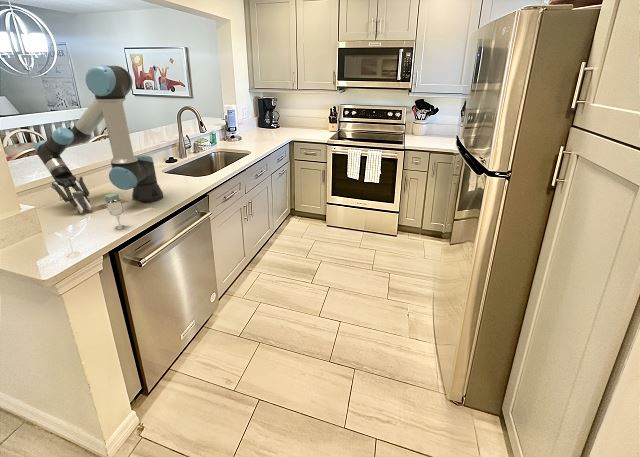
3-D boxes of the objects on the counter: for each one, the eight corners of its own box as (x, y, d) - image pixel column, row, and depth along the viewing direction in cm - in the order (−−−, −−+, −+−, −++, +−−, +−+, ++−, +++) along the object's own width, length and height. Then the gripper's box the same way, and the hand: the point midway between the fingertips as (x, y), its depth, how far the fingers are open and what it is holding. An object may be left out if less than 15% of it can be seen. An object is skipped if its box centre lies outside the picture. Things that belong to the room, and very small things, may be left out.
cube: (115, 201, 182) (113, 193, 180) (120, 203, 179) (118, 194, 177) (106, 204, 178) (104, 195, 176) (111, 205, 176) (109, 197, 174)
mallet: (122, 200, 185) (117, 180, 181) (129, 203, 182) (124, 182, 177) (76, 213, 169) (70, 191, 164) (84, 216, 165) (77, 194, 161)
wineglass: (113, 225, 156) (107, 200, 151) (128, 223, 158) (122, 198, 153) (111, 230, 151) (104, 204, 146) (126, 228, 153) (120, 202, 148)
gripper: (76, 171, 175) (102, 209, 173) (38, 179, 163) (66, 219, 161) (78, 162, 170) (105, 200, 169) (40, 169, 158) (68, 211, 156)
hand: (86, 210), depth 165 cm, fingers closed on mallet, 3 cm apart
